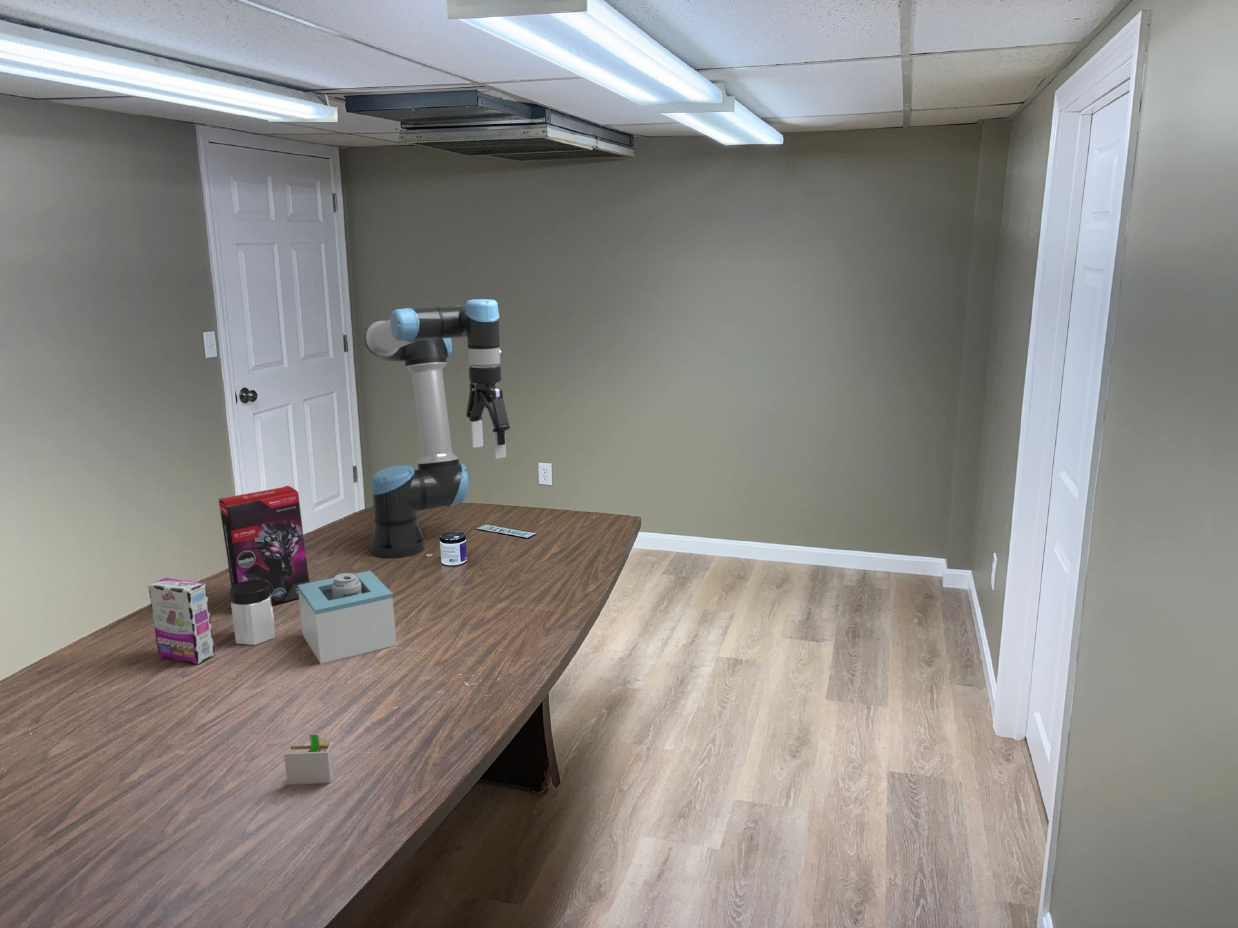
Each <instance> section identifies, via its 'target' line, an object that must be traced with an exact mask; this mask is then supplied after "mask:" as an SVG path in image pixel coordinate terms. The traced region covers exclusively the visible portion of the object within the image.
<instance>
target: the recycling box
mask: <svg viewBox="0 0 1238 928" xmlns="http://www.w3.org/2000/svg"><path fill="white" fill-rule="evenodd" d="M355 574H357V575H358V579H359V580H360V582H361V590H362V594H358V595H353V596H349V597H344V598H339V599H334V600H333V596H332V584H333V582H334V577H331V578H327V579H322V580H317V581H311V582H309V583H306V584H301V585H298V593H299V598H298V602H299V603H298V604H299V611H300V612H299V613H300V620H301V629H302V632H301V633H302V637H303V638H304V640H305V641H306V642H307V644H308V646H309V648H310V649H311V651H312V652H313V655H314V656H315V657H316V658H317V660H318V662H319V664H320V665H323V664H326V663H330V662H334V661H339V660H343V659H347V658H351V657H355V656H359V655H362V654H363V655H364V654H367V653H371V652H375V651H379V650H383V649H386V648H387V649H388V648H391V647H395V646H397V637H396V625H395V609H394V598H393V597H394V596H393V592H392V591H391V590H389V588H388V587H387V586H386V585H385V584H384V583H383V582H382V581H381V580H380V579H379V578H378V577H377V576H376V574H374V573H373V571H371V570H367V571H362V572H357V573H355Z"/></svg>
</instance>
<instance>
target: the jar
mask: <svg viewBox="0 0 1238 928" xmlns="http://www.w3.org/2000/svg"><path fill="white" fill-rule="evenodd" d="M229 594H230V595H229V596H230V601H231V603H230V607H231V608H230V609H231V615H232V622H233V631H234V638H235V639H234V640H235V644H237V645H250V646H256V645H259V644H262V643H265V642H267V641H271V640H272V639H274V638H275V632H276V631H275V630H276V629H275V620H274V619H275V618H274V609H273V605H272V601H271V589H270V584H269V582H267V581H264V580H249V581H244V582H240V583H237V584H235V585H233V586H232V587H231V586H230V588H229Z"/></svg>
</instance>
